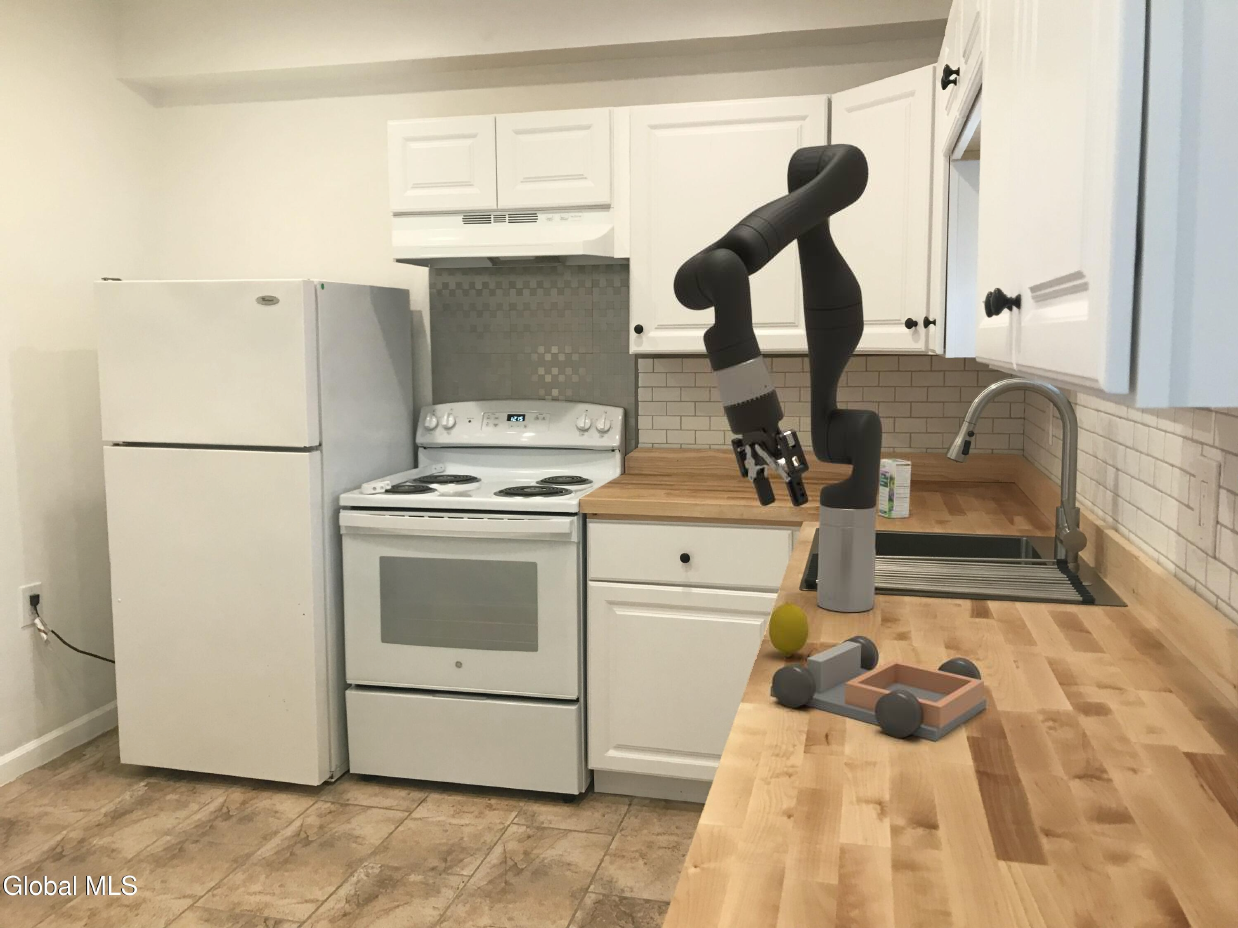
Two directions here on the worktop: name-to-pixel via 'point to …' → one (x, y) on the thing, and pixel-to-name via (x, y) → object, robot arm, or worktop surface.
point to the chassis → (884, 690)
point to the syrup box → (894, 488)
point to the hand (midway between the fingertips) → (784, 504)
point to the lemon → (788, 628)
